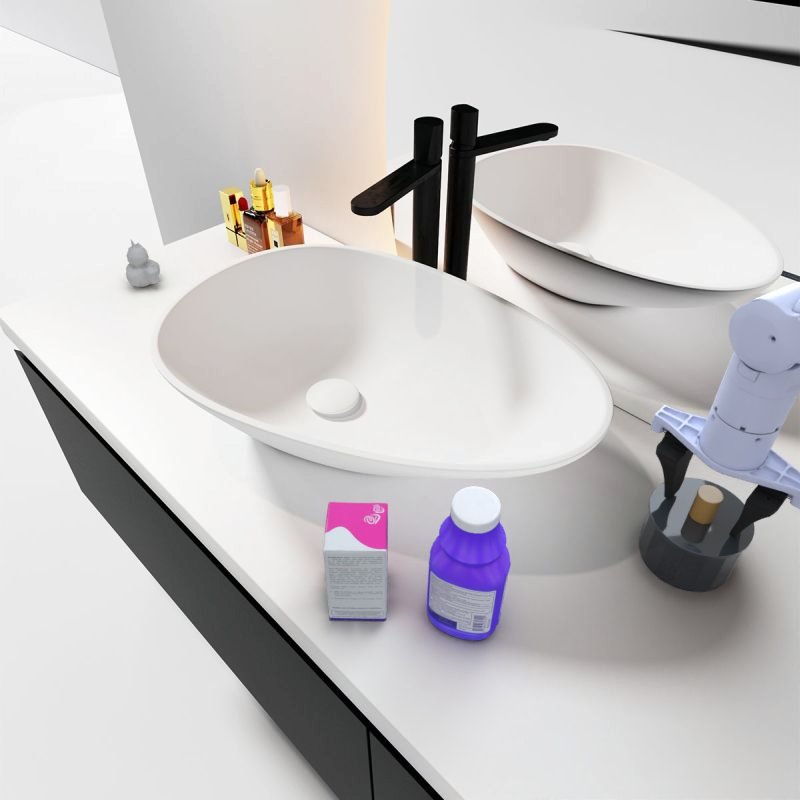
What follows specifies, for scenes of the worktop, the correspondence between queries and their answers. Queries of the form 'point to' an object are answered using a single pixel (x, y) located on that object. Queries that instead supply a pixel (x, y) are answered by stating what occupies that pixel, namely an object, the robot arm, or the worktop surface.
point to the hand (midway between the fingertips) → (703, 511)
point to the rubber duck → (141, 267)
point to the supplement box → (356, 561)
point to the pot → (682, 563)
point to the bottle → (469, 567)
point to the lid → (700, 519)
